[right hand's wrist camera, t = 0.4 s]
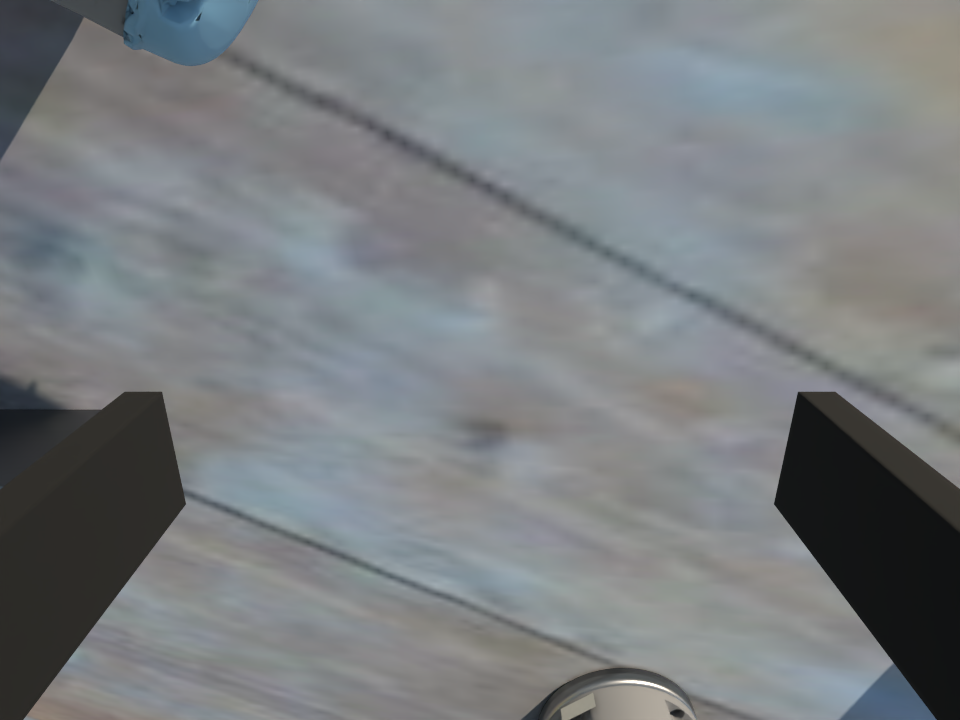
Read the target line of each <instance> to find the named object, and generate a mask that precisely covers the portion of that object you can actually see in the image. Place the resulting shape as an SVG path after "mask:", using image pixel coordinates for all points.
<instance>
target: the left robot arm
mask: <svg viewBox="0 0 960 720" xmlns="http://www.w3.org/2000/svg"><path fill="white" fill-rule="evenodd" d="M50 1H52V2H54V3H56V4H59V5H61V6H63V7H65V8H67V9H69V10H71V11H73V12H75V13H77V14H79V15H81V16H83V17H85V18H87V19H89V20H91V21H93V22H95V23H97V24H99V25H101V26H103V27H105V28H107V29H109V30H111V31H112V32H114V33H116V34H118V35H120V36H122V37H123V38H124V44H126V45H127V46H128V47H130V48H131V49H134V50H139V49H144V50H147V51H149V52H151V53H154V54H156V55H158V56H160V57H163V58H165V59H167V60H170V61H172V62H174V63H177V64H181V65H185V66H196V65H201V64H205V63H207V62H210V61H212V60H213V59H215V58H217V57H218V56H219V55H220V54H222V53H223V52H224V51H225V50H226V49H227V48H228V47H229V46H230V44H231V43H232V42H233V41H234V39H235V38H236V37H237V35H238V34H239V33H240V31H241V30H242V28H243V26H244V25H245V23H246V21H247V20H248V18H249V17H250V15H251V13H252V11H253V10H254V8H255V6H256V4H257V2H258V0H50Z"/></svg>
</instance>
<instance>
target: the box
mask: <svg viewBox="0 0 960 720" xmlns="http://www.w3.org/2000/svg"><path fill="white" fill-rule="evenodd" d="M100 411H101V410H0V489H1V488H2V487H4V486H5V485H6V484H7V483H9V482H10V481H11V480H13V479H14V478H15V477H16V476H18V475H19V474H20V473H22V472H23V471H24V470H25V469H27V468H28V467H29V466H30V465H32V464H33V463H34V462H36V461H37V460H38V459H39V458H41V457H42V456H43V455H45V454H46V453H47V452H48V451H50V450H51V449H52V448H54V447H55V446H56V445H57V444H59V443H60V442H61V441H63V440H64V439H65V438H66V437H68V436H69V435H70V434H71V433H73V432H74V431H75V430H77V429H78V428H79V427H80V426H82V425H83V424H84V423H86V422H87V421H88V420H89V419H91V418H92V417H93V416H95V415H96V414H97V413H98V412H100Z"/></svg>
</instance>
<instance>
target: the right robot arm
mask: <svg viewBox="0 0 960 720" xmlns="http://www.w3.org/2000/svg"><path fill="white" fill-rule="evenodd" d="M185 505H186V502H185V498H184V493H183V488H182V484H181V479H180V474H179V469H178V465H177V460H176V455H175V451H174V446H173V441H172V437H171V432H170V427H169V423H168V418H167V413H166V409H165V404H164V399H163V395H162V392H124V393H123V394H121V395H120V396H119V397H118V398H116V399H115V400H114V401H112V402H111V403H110V404H109V405H107V406H106V407H105V408H103V409H102V410H101V411H100V412H98V413H97V414H96V415H95V416H93V417H92V418H91V419H89V420H88V421H87V422H86V423H84V424H83V425H82V426H80V427H79V428H78V429H77V430H75V431H74V432H73V433H71V434H70V435H69V436H68V437H66V438H65V439H64V440H63V441H61V442H60V443H59V444H57V445H56V446H55V447H54V448H52V449H51V450H50V451H48V452H47V453H46V454H45V455H43V456H42V457H41V458H39V459H38V460H37V461H36V462H34V463H33V464H32V465H30V466H29V467H28V468H27V469H25V470H24V471H23V472H22V473H20V474H19V475H18V476H16V477H15V478H14V479H13V480H11V481H10V482H9V483H7V484H6V485H5V486H4V487H2V488H1V489H0V720H23V719H24V718H25V717H26V715H27V714H28V713H29V711H30V710H31V709H32V707H33V706H34V705H35V703H36V702H37V701H38V699H39V698H40V697H41V695H42V694H43V693H44V691H45V690H46V689H47V687H48V686H49V685H50V683H51V682H52V681H53V680H54V678H55V677H56V676H57V674H58V673H59V672H60V670H61V669H62V668H63V666H64V665H65V664H66V662H67V661H68V660H69V658H70V657H71V656H72V654H73V653H74V652H75V650H76V649H77V648H78V646H79V645H80V644H81V642H82V641H83V640H84V638H85V637H86V636H87V634H88V633H89V632H90V631H91V629H92V628H93V627H94V625H95V624H96V623H97V621H98V620H99V619H100V617H101V616H102V615H103V613H104V612H105V611H106V609H107V608H108V607H109V605H110V604H111V603H112V601H113V600H114V599H115V597H116V596H117V595H118V593H119V592H120V591H121V589H122V588H123V587H124V585H125V584H126V583H127V581H128V580H129V579H130V578H131V576H132V575H133V574H134V572H135V571H136V570H137V568H138V567H139V566H140V564H141V563H142V562H143V560H144V559H145V558H146V556H147V555H148V554H149V552H150V551H151V550H152V548H153V547H154V546H155V544H156V543H157V542H158V540H159V539H160V538H161V536H162V535H163V534H164V532H165V531H166V530H167V528H168V527H169V526H170V525H171V523H172V522H173V521H174V519H175V518H176V517H177V515H178V514H179V513H180V511H181V510H182V509H183V507H184V506H185ZM774 505H775V506H776V507H777V509H778V510H779V511H780V513H781V514H782V515H783V517H784V518H785V519H786V521H787V522H788V523H789V525H790V526H791V527H792V528H793V530H794V531H795V532H796V534H797V535H798V536H799V538H800V539H801V540H802V542H803V543H804V544H805V546H806V547H807V548H808V550H809V551H810V552H811V554H812V555H813V556H814V558H815V559H816V560H817V562H818V563H819V564H820V566H821V567H822V568H823V570H824V571H825V572H826V574H827V575H828V576H829V578H830V579H831V580H832V581H833V583H834V584H835V585H836V587H837V588H838V589H839V591H840V592H841V593H842V595H843V596H844V597H845V599H846V600H847V601H848V603H849V604H850V605H851V607H852V608H853V609H854V611H855V612H856V613H857V615H858V616H859V617H860V619H861V620H862V621H863V623H864V624H865V625H866V627H867V628H868V629H869V631H870V632H871V633H872V634H873V636H874V637H875V638H876V640H877V641H878V642H879V644H880V645H881V646H882V648H883V649H884V650H885V652H886V653H887V654H888V656H889V657H890V658H891V660H892V661H893V662H894V664H895V665H896V666H897V668H898V669H899V670H900V672H901V673H902V674H903V676H904V677H905V678H906V680H907V681H908V682H909V683H910V685H911V686H912V687H913V689H914V690H915V691H916V693H917V694H918V695H919V697H920V698H921V699H922V701H923V702H924V703H925V705H926V706H927V707H928V709H929V710H930V711H931V713H932V714H933V715H934V717H935V718H936V719H937V720H960V489H959V488H958V487H956V486H955V485H954V484H953V483H951V482H950V481H949V480H947V479H946V478H945V477H944V476H942V475H941V474H940V473H938V472H937V471H936V470H935V469H933V468H932V467H931V466H930V465H928V464H927V463H926V462H924V461H923V460H922V459H921V458H919V457H918V456H917V455H915V454H914V453H913V452H912V451H910V450H909V449H908V448H906V447H905V446H904V445H903V444H901V443H900V442H899V441H897V440H896V439H895V438H894V437H892V436H891V435H890V434H889V433H887V432H886V431H885V430H883V429H882V428H881V427H880V426H878V425H877V424H876V423H874V422H873V421H872V420H871V419H869V418H868V417H867V416H865V415H864V414H863V413H862V412H860V411H859V410H858V409H857V408H855V407H854V406H853V405H851V404H850V403H849V402H848V401H846V400H845V399H844V398H842V397H841V396H840V395H839V394H837V393H836V392H798V395H797V399H796V404H795V409H794V413H793V418H792V423H791V427H790V432H789V437H788V441H787V446H786V451H785V455H784V460H783V465H782V469H781V474H780V479H779V484H778V488H777V493H776V498H775V502H774ZM539 720H697V718H696V715H695V712H694V709H693V707H692V704H691V702H690V700H689V698H688V696H687V695H686V694H685V692H684V691H683V690H682V689H681V688H680V687H679V686H678V685H676V684H675V683H674V682H672V681H671V680H669V679H667V678H665V677H663V676H661V675H658V674H656V673H653V672H649V671H645V670H640V669H632V668H613V669H605V670H599V671H595V672H591V673H588V674H585V675H583V676H580V677H578V678H576V679H574V680H572V681H570V682H568V683H567V684H565V685H564V686H562V687H561V688H560V689H558V690H557V691H556V692H555V693H554V694H553V695H552V696H551V697H550V698H549V699H548V701H547V702H546V704H545V705H544V707H543V709H542V711H541V714H540V717H539Z"/></svg>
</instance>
